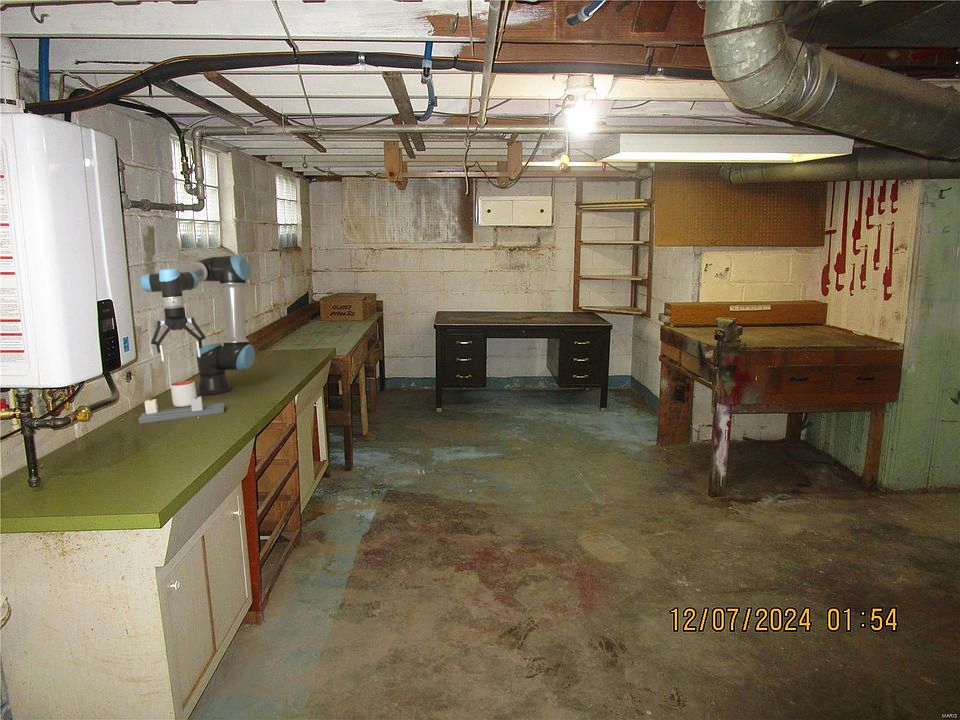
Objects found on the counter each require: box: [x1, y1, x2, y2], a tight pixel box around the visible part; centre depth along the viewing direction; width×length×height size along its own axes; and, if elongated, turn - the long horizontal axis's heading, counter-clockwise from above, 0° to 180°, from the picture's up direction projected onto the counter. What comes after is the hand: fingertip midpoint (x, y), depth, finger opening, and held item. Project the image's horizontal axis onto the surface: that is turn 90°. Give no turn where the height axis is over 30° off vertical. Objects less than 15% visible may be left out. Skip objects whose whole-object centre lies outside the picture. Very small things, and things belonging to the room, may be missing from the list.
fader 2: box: [190, 396, 204, 412], centre depth 266 cm, size 4×4×5 cm
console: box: [138, 402, 226, 425], centre depth 268 cm, size 10×32×2 cm, turn 109°
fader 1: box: [144, 398, 159, 414], centre depth 266 cm, size 4×4×5 cm
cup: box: [170, 380, 198, 408], centre depth 285 cm, size 10×10×10 cm
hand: (181, 358), depth 262 cm, fingers open, 13 cm apart
